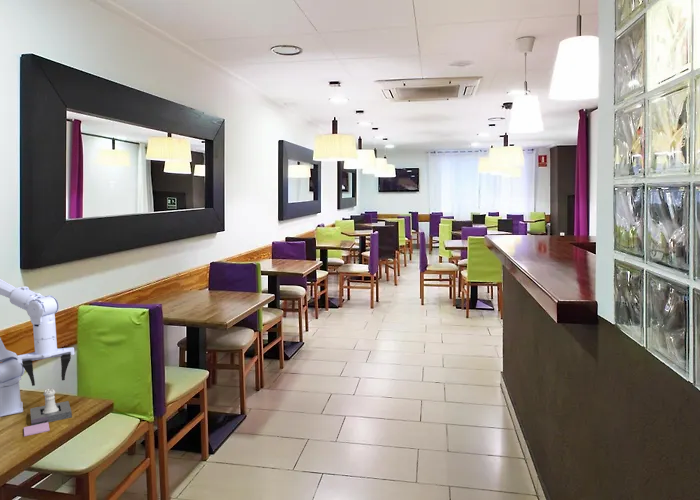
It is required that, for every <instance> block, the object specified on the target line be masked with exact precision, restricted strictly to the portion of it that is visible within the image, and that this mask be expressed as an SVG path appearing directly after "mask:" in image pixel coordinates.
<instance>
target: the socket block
mask: <svg viewBox="0 0 700 500" xmlns="http://www.w3.org/2000/svg"><path fill="white" fill-rule="evenodd" d="M55 404H56V406H57V408H58V409H59V411H57V412H53V413H48V414H43V411H44V408H45V405H41V406H40V405H39V406H36V407H32V408H31V407H30V410H29V411H30V422H31V426H32V425H37V424H42V423H46V422H48V423H51V422H56V421H62V420H66V419H70V418H73V414H72V413H73V412H72V408H71V406H70V405H71V404H70V402H69V400H66V401H62V402H55Z"/></svg>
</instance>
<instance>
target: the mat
mask: <svg viewBox="0 0 700 500" xmlns="http://www.w3.org/2000/svg"><path fill="white" fill-rule="evenodd" d="M49 423H50V422H46V423H42V424H37V425H32V424H31V425H29V426H25V427H23V437H28V436H33V435H37V434H41V433H47V432H50V424H49Z"/></svg>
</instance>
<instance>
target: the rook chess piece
mask: <svg viewBox="0 0 700 500" xmlns="http://www.w3.org/2000/svg"><path fill="white" fill-rule="evenodd" d="M55 394H56V391H55V389H54V388H47V389H44V391H43V394H42V395H43V396H44V401H45V402H44V406H45V408H44V411H43V414H48V413H53V412H57V411H59V409H58V408H57V406H56V399H55V398H56V396H55Z"/></svg>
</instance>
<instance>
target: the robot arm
mask: <svg viewBox="0 0 700 500" xmlns="http://www.w3.org/2000/svg"><path fill="white" fill-rule="evenodd" d="M0 296H3V297H6V298H8V299H9V302H10V303H11V304H12V305H13V306H16V307H18V308H20V309H22V310H24V311H26V313H27V315H28V316H29V318H30V323H31V324H32V330H33V343H34V351H33V352H28V353H23V354H19V355H18V354H17V353H16V352H14V351H11V350H9V349H7V348H6V346H5V345H4V342H3V340H2V337H0V417H5V416H10V415H15V414H21V413H23V412H24V408H23V406H24V405H23V401H22V399H21V398H22V397H21V389H20V387H21V386H20V381H22V376H23V375H24V374H25V371H26V373H27V376H28V377H29V379H30V383H31V386H32V387H34V386H35V385H36V383H35V382H36V381H35V377H34V376H35V375H34V367H33V366H34V365H33V361H38V360H46V359H53V358H57V357H60V365H61V370H60V371H61V373H60V375H61V376H60V377H61V381H65V379H66V373H67V369H68V366H69V364H70V362H71V359H72V357H71V356H74V355H75V348H74V347H73V346H72V347H63V348H62V347H61V348H58V341H57V326H56V325H57V324H56V316H55V315H56V314H57V313H58V311H59V309H60V304H59V303H60V302H59V301H58V299H57V298H56V297H55V296H53V295H50V294H49V295H42V294H41V293H40V292H38V293H37V292H35V291H34V290H31V289H30V288H29V286H25V285H24V286H18V287H16V286H14V285H13V284H11V283H9V282H7V281H5V280H3V279H2V278H0Z"/></svg>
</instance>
